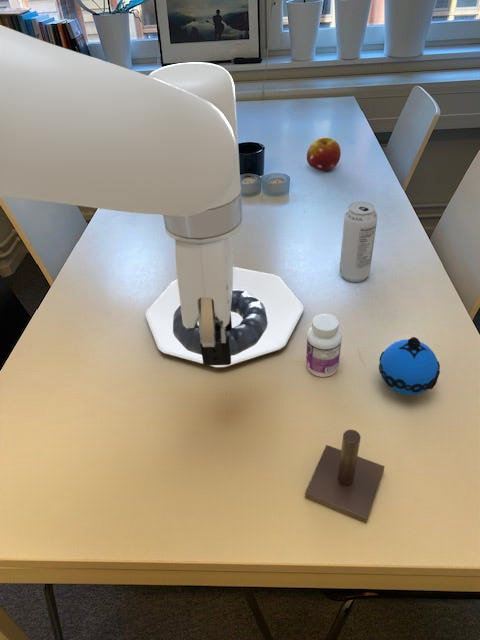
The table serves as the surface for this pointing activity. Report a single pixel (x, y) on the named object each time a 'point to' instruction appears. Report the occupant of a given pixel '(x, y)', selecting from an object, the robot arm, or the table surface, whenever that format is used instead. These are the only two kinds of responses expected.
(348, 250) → the energy drink can
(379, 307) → the table surface
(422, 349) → the ornament
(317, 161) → the fruit
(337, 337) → the pill bottle
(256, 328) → the ring
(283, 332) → the plate
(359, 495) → the stand
